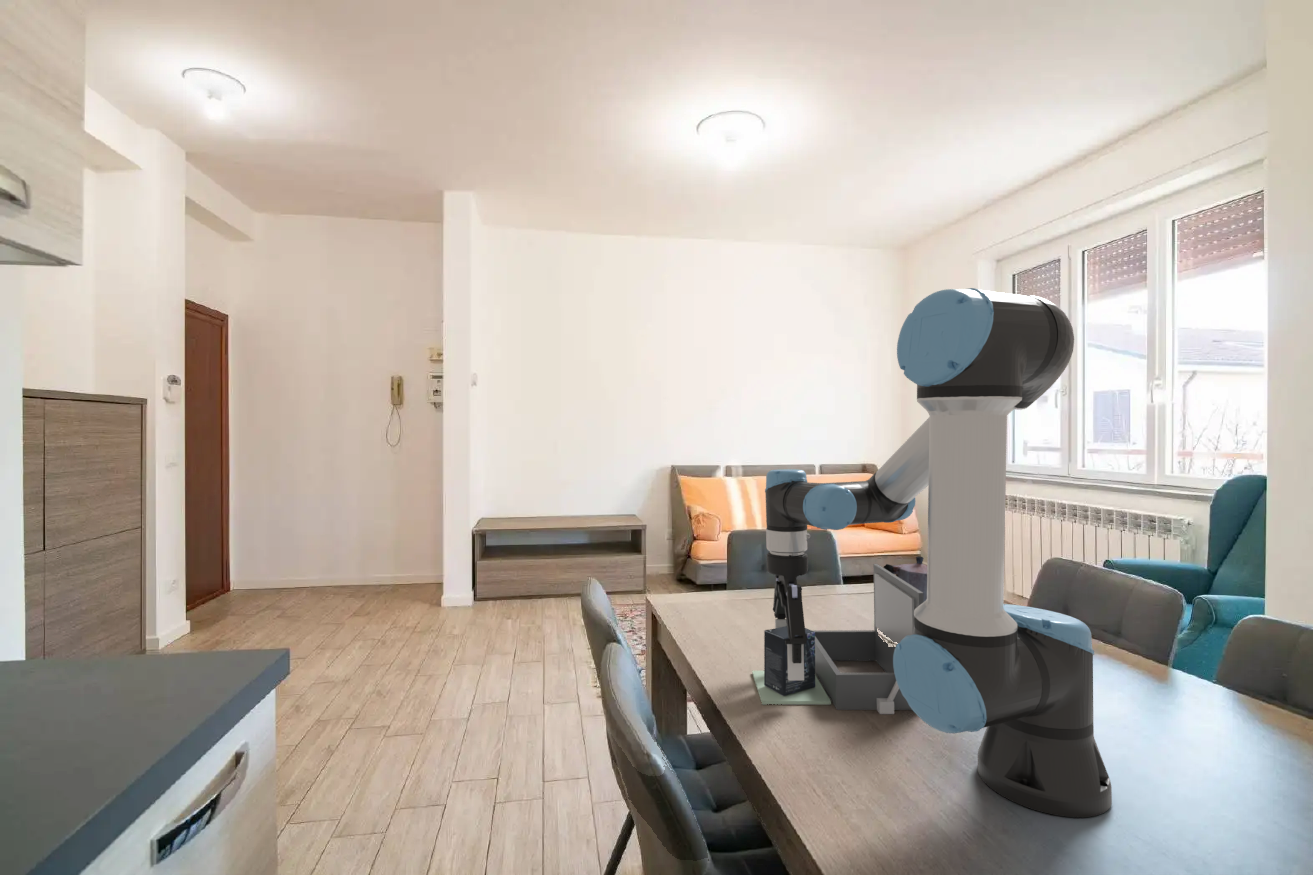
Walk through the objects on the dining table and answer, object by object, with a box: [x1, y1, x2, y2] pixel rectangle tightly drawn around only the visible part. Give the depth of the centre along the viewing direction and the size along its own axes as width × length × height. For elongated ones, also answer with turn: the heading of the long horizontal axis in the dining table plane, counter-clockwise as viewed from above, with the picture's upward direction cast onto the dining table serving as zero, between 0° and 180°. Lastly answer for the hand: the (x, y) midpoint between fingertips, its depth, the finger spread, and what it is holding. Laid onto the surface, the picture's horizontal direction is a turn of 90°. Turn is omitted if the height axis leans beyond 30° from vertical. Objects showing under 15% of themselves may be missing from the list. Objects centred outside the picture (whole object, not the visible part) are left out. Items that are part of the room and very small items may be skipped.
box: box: [763, 626, 816, 696], centre depth 112 cm, size 8×6×11 cm
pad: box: [751, 670, 832, 706], centre depth 113 cm, size 14×12×1 cm
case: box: [813, 563, 924, 715], centre depth 115 cm, size 26×16×20 cm, turn 178°
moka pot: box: [883, 555, 927, 601], centre depth 135 cm, size 10×15×20 cm, turn 89°
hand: (788, 665), depth 113 cm, fingers open, 13 cm apart
